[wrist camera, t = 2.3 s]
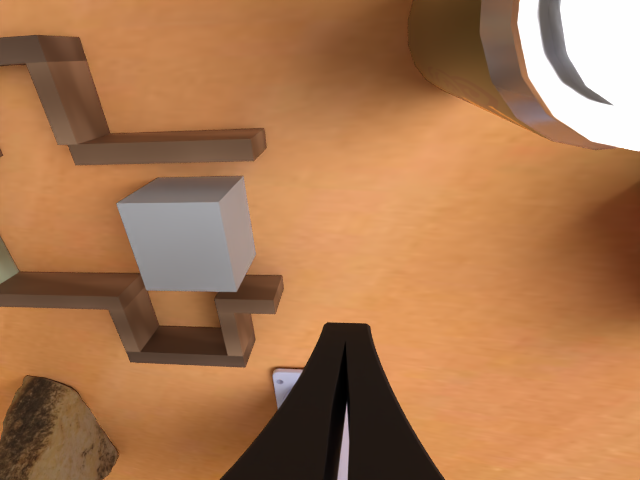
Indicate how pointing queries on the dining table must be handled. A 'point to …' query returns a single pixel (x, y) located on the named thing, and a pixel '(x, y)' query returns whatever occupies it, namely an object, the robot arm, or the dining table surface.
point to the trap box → (130, 148)
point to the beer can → (538, 63)
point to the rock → (53, 436)
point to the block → (190, 233)
